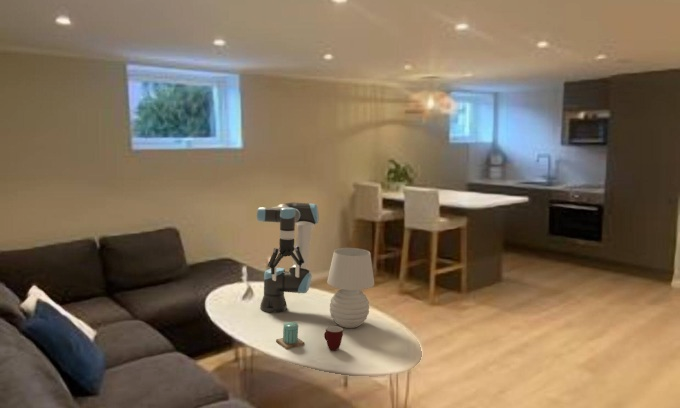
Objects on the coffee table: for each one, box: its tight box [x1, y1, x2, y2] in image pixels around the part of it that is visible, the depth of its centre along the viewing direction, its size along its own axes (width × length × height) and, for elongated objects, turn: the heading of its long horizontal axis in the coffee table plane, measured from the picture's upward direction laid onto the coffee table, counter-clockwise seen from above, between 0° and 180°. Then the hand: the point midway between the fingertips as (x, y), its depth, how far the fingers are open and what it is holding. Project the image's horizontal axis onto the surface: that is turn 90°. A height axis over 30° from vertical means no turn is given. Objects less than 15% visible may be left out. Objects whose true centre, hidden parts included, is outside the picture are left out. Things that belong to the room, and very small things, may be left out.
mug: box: [323, 325, 344, 352], centre depth 245 cm, size 11×8×10 cm
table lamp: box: [326, 247, 375, 329], centre depth 275 cm, size 25×25×40 cm
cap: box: [282, 322, 299, 344], centre depth 248 cm, size 7×7×8 cm
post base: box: [275, 337, 305, 350], centre depth 249 cm, size 10×10×7 cm
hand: (285, 278), depth 264 cm, fingers open, 13 cm apart
